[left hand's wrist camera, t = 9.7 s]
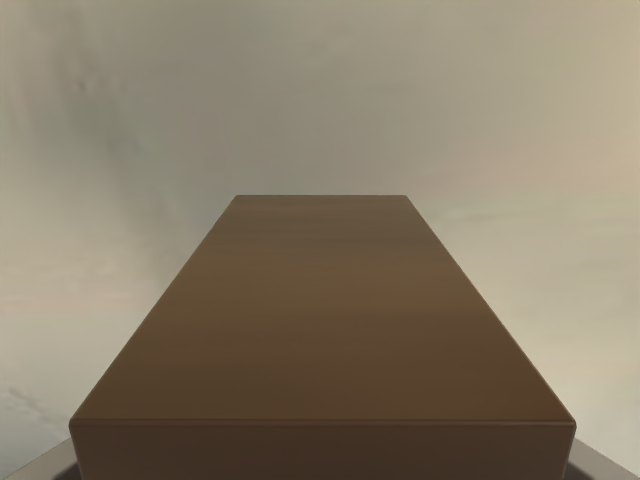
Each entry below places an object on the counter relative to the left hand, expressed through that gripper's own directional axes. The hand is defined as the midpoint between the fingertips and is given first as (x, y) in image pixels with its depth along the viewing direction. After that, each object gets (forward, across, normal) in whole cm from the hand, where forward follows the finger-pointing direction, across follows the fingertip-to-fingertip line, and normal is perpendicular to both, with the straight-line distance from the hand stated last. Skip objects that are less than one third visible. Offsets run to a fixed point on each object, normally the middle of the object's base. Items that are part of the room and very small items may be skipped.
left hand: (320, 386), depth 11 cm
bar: (+4, 0, +8) cm, 9 cm away
